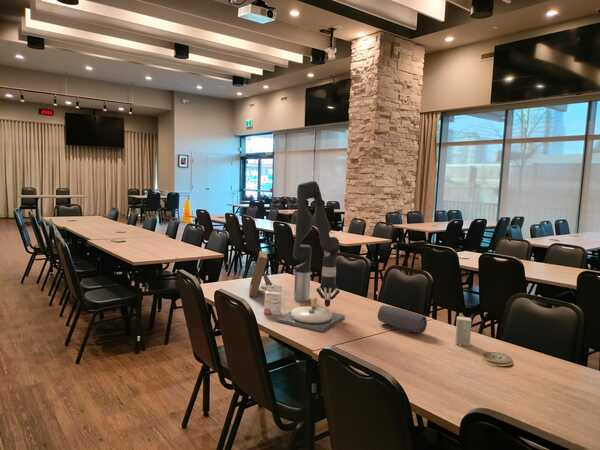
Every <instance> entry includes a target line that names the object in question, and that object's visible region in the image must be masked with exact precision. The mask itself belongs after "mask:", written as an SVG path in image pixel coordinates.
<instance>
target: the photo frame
mask: <svg viewBox="0 0 600 450" xmlns="http://www.w3.org/2000/svg"><path fill="white" fill-rule="evenodd" d="M267 261H268V254H267V251H263V250H259V252H258V256H257V260H256V263H255V267H254V269H253V273H252V277H251V281H250V284H249V293H248V294H249V295H248V296H249V297H253V298H257V297H258V293H259V289H260V285H261V282H262V279H263V280H264V282H265V285H266V287H267V285H273V283H272V281H271V280H270V278H269V277H268V275H267V273H266V271H265V268H266V264H267Z"/></svg>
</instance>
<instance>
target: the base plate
mask: <svg viewBox="0 0 600 450" xmlns="http://www.w3.org/2000/svg"><path fill="white" fill-rule="evenodd" d="M300 307H304V306H303V305H301V306H300ZM345 317H346V316H345V314H341V313H337V312H332V319H331V320H329V321H327V322H323V323H305V322H300V321H297V320H295V319H293V318H292V317H291V311H289V312H287V313H285V314H283V315H281V316H279V317H277V318H276V322H277V323H281V324H285V325H290V326H294V327H298V328H303V329H306V330H310V331H316V332H318V333H319V332H320V333H324V332H325V331H327V330H329V329H330V328H332V327H333V326H334V325H336V324H337V323H339V322H341V321H342V320H343V319H345Z"/></svg>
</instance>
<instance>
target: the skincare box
mask: <svg viewBox="0 0 600 450" xmlns="http://www.w3.org/2000/svg"><path fill="white" fill-rule="evenodd" d="M471 330H472V318H471V317H465V316H456V325H455V340H454V341H455V342H454V343H455V345H456V344H460V345H459V346H462V345H468V346H467V347H469V346H471V337H472V335H471V333H472V332H471Z"/></svg>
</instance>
